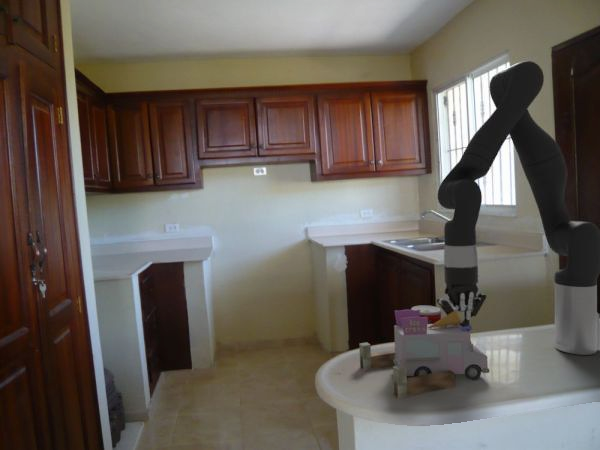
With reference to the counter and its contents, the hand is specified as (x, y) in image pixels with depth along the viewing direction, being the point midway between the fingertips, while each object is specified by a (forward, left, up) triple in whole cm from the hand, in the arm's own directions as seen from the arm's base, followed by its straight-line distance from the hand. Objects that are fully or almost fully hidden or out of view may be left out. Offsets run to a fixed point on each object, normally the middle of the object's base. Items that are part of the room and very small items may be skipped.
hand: (462, 334), depth 106 cm
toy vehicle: (+9, +3, -8) cm, 12 cm away
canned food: (+1, -13, -8) cm, 16 cm away
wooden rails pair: (+16, 0, -8) cm, 18 cm away
